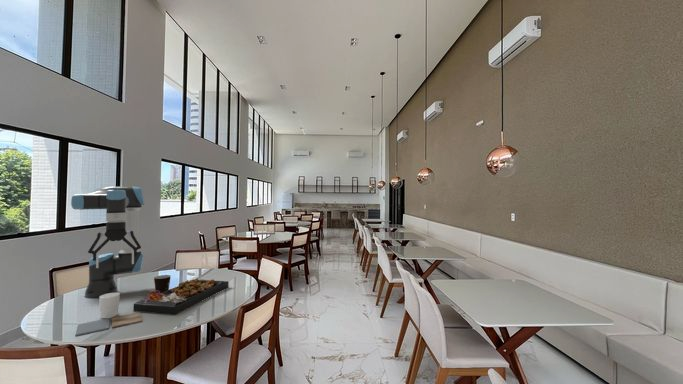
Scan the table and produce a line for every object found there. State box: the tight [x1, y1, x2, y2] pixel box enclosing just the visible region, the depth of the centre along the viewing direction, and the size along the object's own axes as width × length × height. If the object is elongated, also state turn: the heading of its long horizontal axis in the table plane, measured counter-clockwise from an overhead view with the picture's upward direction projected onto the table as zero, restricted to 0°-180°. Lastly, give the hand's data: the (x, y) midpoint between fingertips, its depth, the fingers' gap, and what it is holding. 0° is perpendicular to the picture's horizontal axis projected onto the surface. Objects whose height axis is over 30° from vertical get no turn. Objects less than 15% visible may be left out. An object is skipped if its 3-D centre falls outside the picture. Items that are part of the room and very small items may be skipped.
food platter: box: [133, 278, 230, 316], centre depth 168 cm, size 45×25×10 cm, turn 168°
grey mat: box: [75, 318, 110, 337], centre depth 130 cm, size 13×11×1 cm
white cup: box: [98, 292, 121, 319], centre depth 143 cm, size 8×8×10 cm
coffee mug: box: [153, 274, 171, 293], centre depth 178 cm, size 12×9×10 cm
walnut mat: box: [111, 311, 143, 329], centre depth 138 cm, size 13×11×1 cm
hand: (115, 265), depth 142 cm, fingers open, 13 cm apart
